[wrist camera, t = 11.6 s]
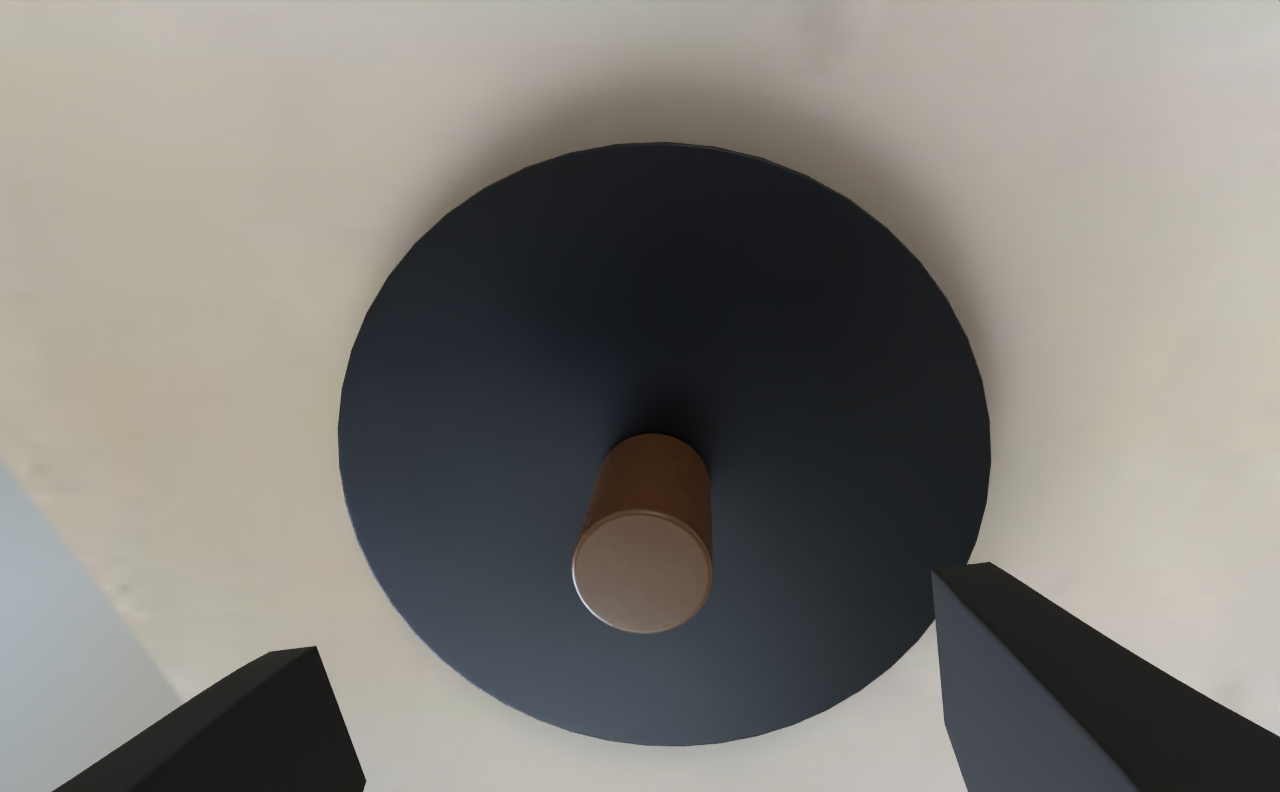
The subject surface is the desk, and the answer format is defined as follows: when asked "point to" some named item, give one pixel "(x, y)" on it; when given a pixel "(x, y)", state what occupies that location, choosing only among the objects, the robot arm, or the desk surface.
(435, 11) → the desk surface
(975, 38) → the desk surface
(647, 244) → the pan lid
